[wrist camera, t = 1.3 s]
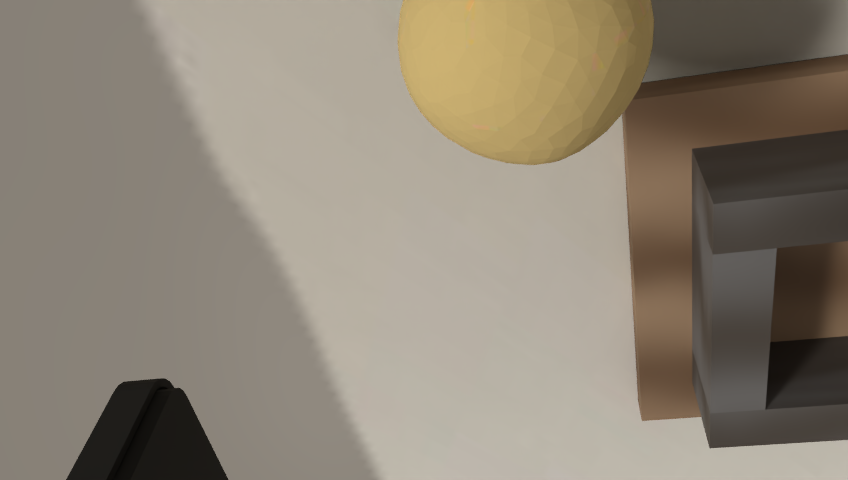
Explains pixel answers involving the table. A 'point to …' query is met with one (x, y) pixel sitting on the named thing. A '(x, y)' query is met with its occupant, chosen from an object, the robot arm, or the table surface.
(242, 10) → the table surface
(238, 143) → the table surface
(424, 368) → the table surface
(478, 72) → the light bulb
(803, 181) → the lamp socket
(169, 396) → the robot arm
